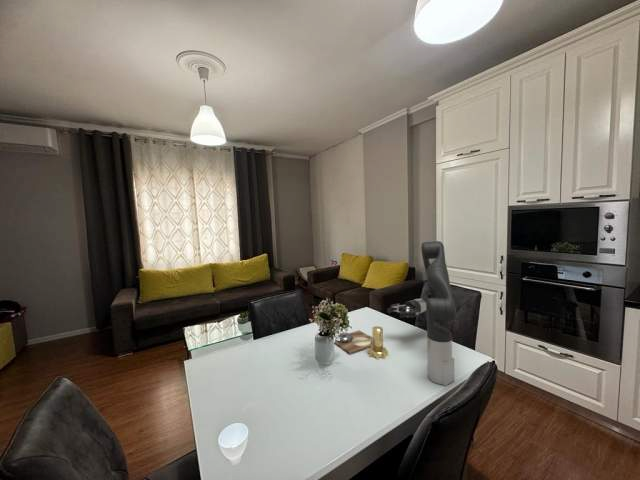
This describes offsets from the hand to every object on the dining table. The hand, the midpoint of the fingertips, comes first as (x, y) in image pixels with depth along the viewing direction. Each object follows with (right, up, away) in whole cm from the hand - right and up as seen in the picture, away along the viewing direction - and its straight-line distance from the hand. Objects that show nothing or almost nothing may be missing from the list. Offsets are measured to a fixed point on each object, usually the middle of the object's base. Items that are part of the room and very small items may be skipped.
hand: (393, 313), depth 131 cm
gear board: (-19, -18, +9) cm, 28 cm away
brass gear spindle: (-9, -19, -4) cm, 21 cm away
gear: (-25, -17, +10) cm, 32 cm away
